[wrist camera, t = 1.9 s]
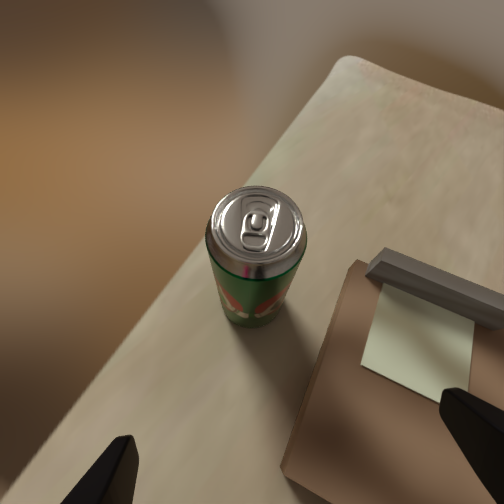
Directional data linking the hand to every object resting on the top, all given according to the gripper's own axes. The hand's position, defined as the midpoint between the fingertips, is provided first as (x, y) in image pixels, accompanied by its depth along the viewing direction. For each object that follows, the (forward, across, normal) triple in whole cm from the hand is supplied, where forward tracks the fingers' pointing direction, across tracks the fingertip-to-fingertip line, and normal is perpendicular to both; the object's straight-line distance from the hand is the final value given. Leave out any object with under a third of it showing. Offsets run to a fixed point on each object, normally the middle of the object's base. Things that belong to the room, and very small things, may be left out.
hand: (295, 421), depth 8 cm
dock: (+9, -10, +10) cm, 17 cm away
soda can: (+15, 0, +4) cm, 16 cm away
